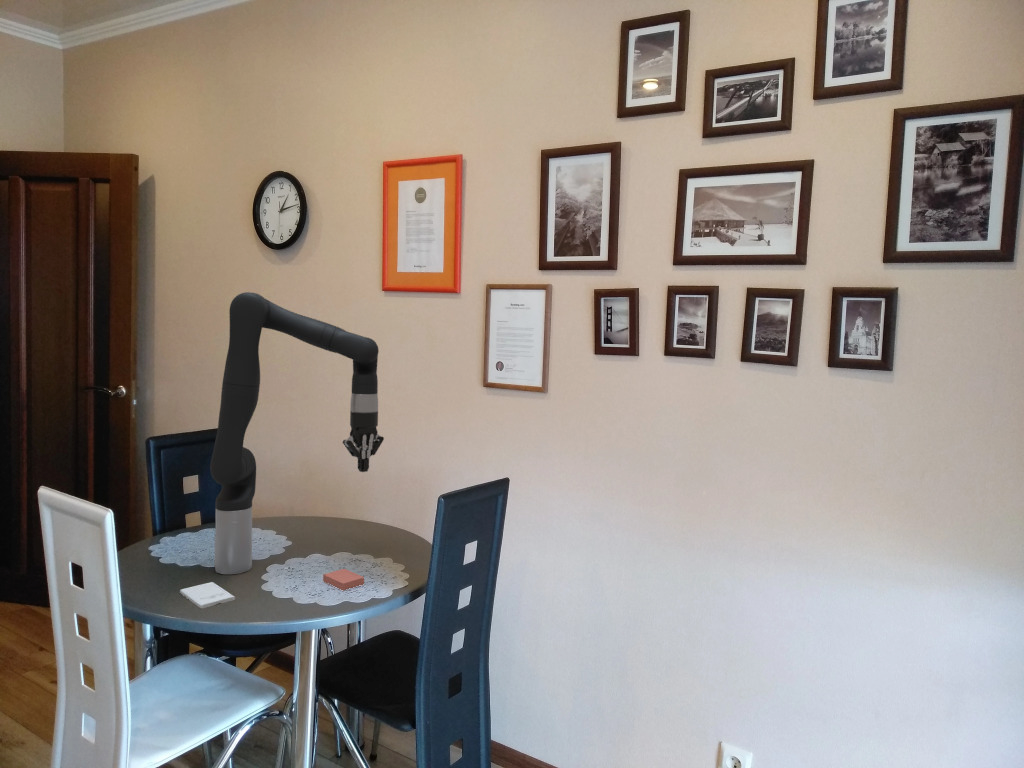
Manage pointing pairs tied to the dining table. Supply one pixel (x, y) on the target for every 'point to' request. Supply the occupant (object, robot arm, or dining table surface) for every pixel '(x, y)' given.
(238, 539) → the robot arm
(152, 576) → the dining table surface
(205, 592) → the external hard drive
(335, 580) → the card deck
